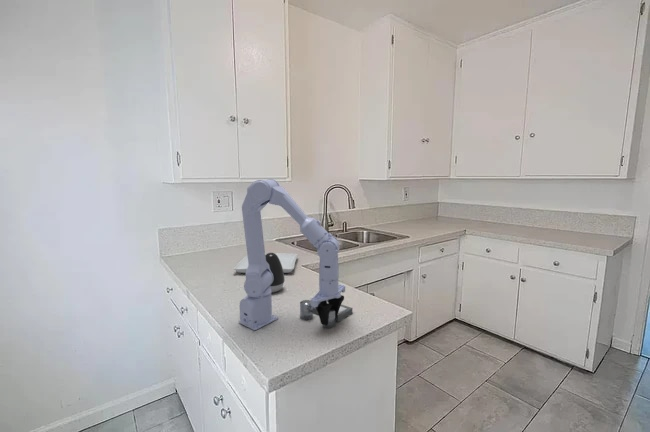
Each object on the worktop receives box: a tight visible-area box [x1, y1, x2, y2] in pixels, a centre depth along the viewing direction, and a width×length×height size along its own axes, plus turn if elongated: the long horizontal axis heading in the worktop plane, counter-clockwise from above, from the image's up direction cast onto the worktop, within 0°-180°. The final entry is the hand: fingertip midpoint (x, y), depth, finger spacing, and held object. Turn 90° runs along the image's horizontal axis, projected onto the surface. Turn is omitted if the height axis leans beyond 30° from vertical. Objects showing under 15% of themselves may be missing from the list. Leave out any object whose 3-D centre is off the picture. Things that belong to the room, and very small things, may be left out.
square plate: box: [233, 252, 299, 274], centre depth 153 cm, size 27×27×4 cm
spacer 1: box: [299, 299, 314, 321], centre depth 100 cm, size 4×4×5 cm
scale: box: [313, 300, 353, 323], centre depth 103 cm, size 8×12×2 cm, turn 52°
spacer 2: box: [321, 307, 336, 330], centre depth 94 cm, size 4×4×5 cm
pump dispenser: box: [265, 252, 286, 294], centre depth 121 cm, size 10×10×15 cm
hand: (328, 321), depth 94 cm, fingers closed on spacer 2, 4 cm apart
